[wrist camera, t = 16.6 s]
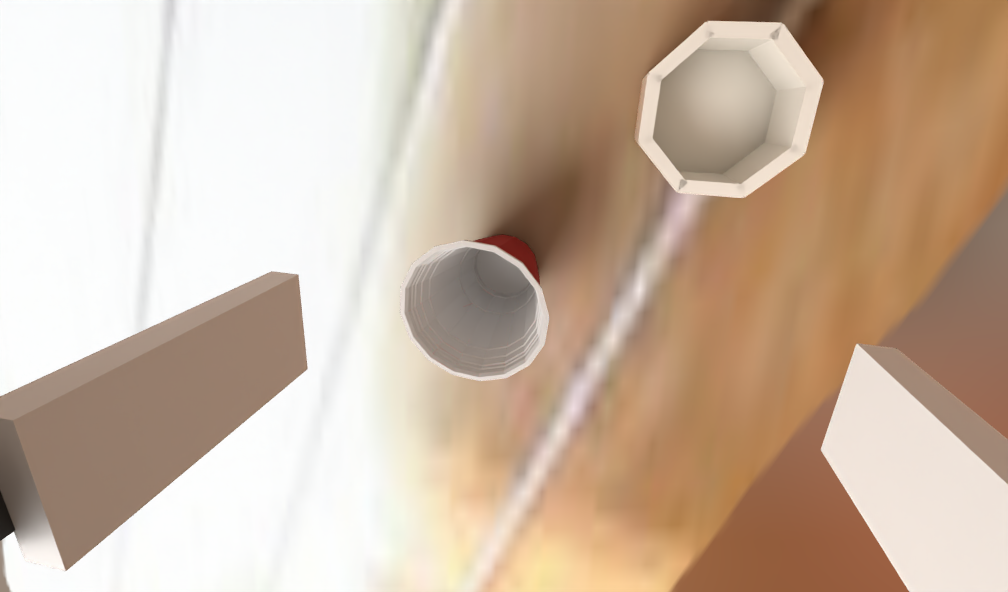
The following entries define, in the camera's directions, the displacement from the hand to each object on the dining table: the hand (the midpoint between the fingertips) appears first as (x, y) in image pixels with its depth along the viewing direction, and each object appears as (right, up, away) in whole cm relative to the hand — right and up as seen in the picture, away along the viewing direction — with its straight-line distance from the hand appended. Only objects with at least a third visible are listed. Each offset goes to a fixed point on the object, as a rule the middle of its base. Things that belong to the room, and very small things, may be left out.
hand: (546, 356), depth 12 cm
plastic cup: (-1, +4, +33) cm, 34 cm away
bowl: (+14, +15, +26) cm, 33 cm away
